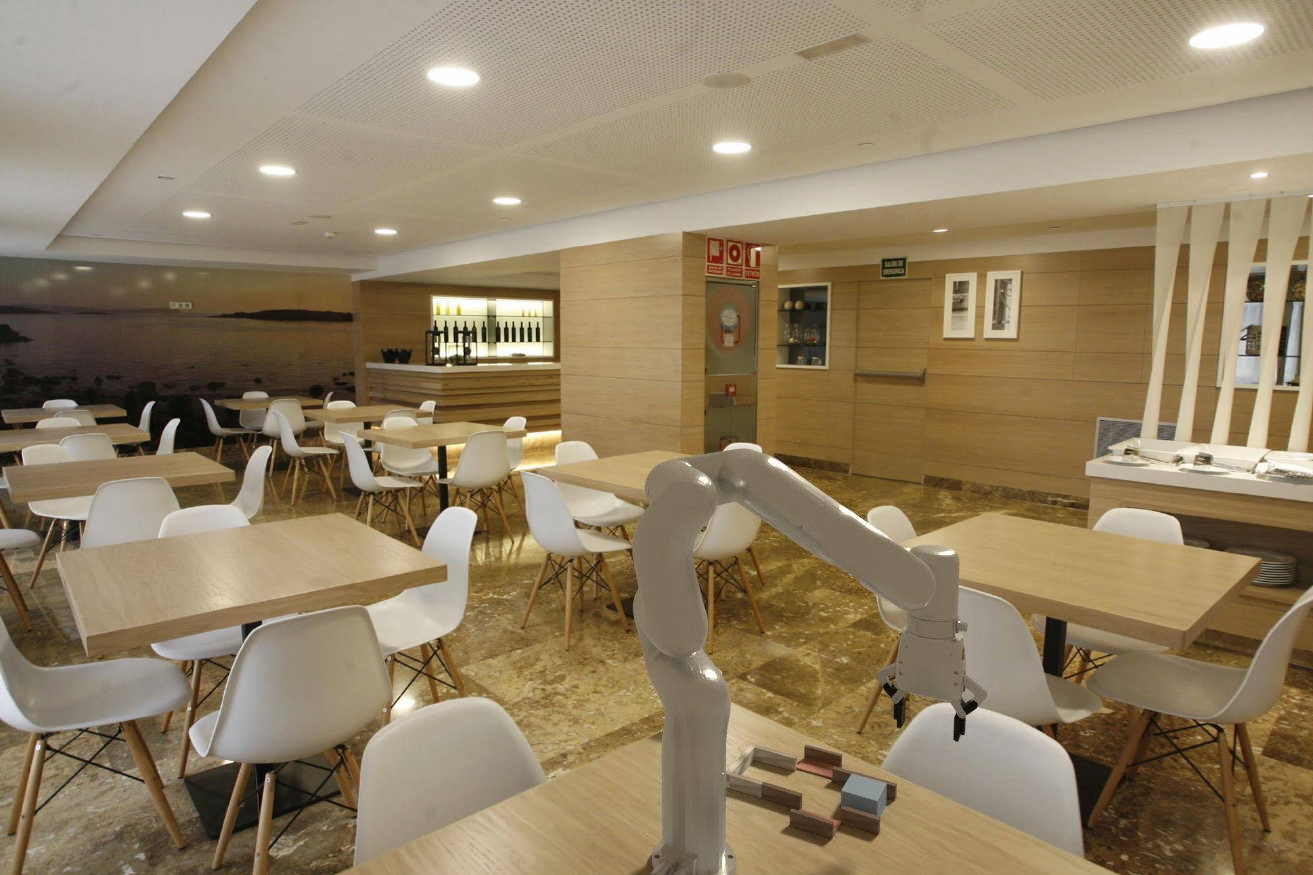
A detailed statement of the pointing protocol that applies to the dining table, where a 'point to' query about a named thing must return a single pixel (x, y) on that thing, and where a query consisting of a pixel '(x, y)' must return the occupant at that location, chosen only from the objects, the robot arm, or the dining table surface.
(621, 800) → the dining table surface
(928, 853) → the dining table surface
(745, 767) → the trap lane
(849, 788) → the slate block
